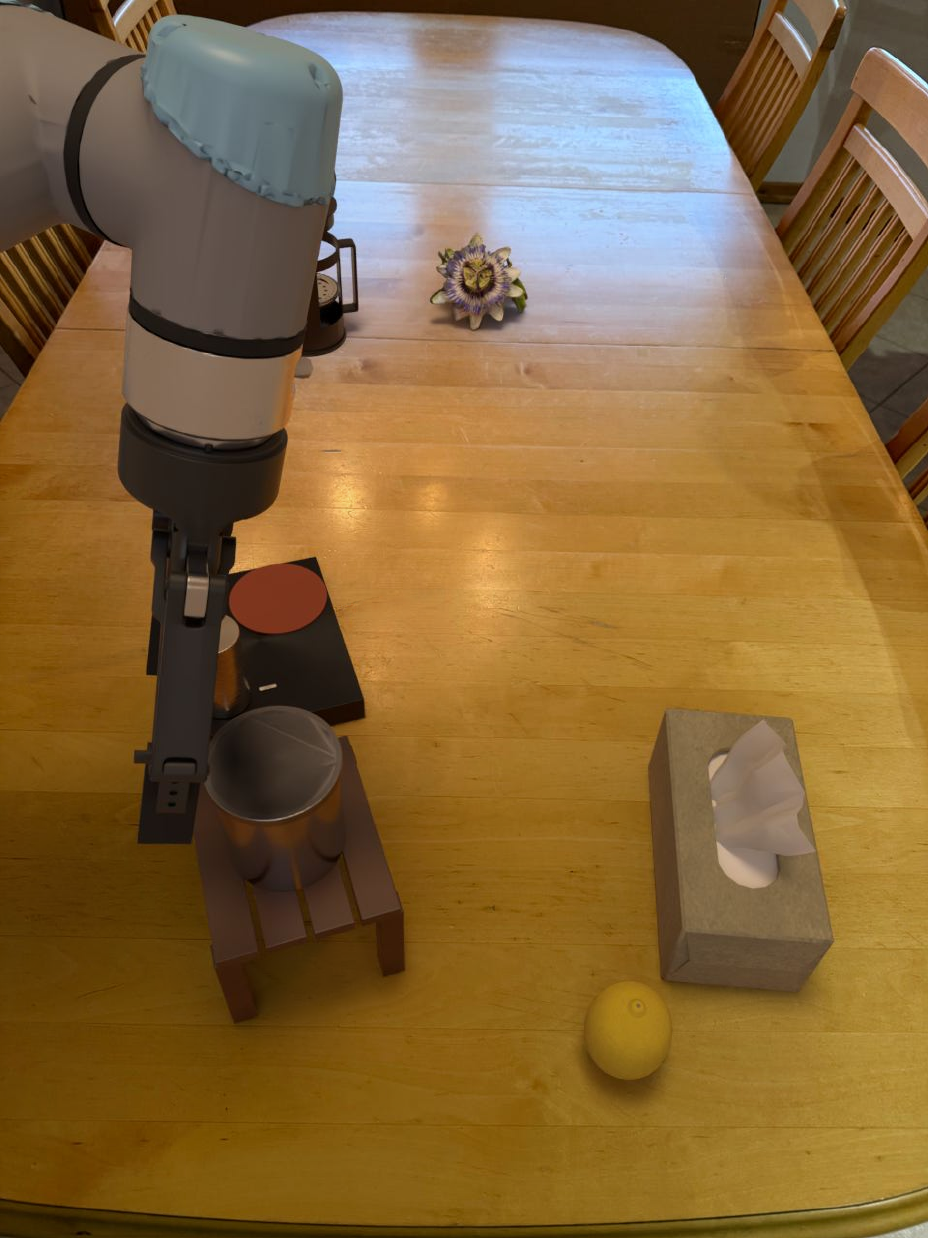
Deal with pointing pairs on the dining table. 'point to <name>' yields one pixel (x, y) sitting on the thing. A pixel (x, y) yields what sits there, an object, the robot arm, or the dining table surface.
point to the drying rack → (283, 908)
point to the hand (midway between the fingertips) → (166, 748)
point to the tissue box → (735, 853)
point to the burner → (278, 599)
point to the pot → (278, 796)
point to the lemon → (628, 1030)
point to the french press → (329, 296)
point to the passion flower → (478, 282)
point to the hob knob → (231, 673)
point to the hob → (300, 666)
